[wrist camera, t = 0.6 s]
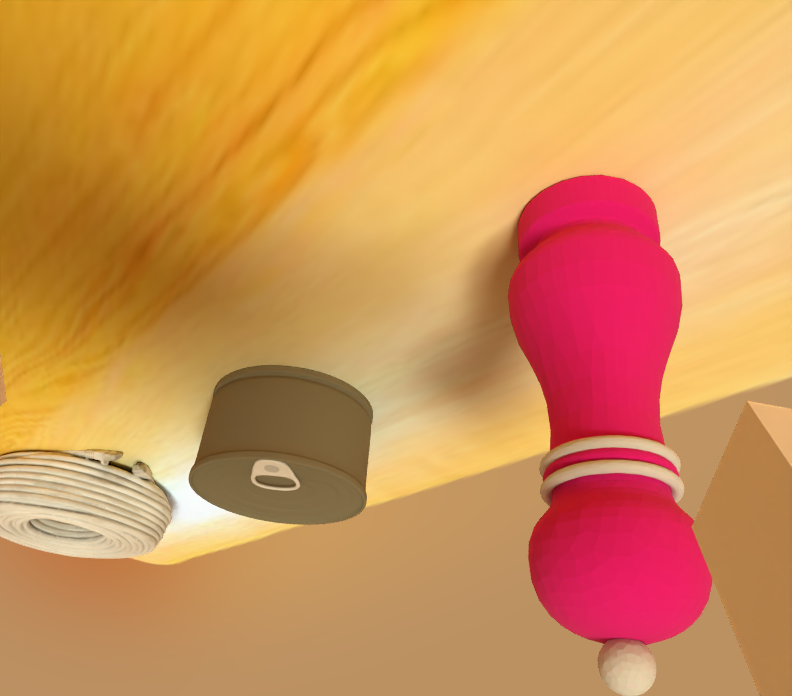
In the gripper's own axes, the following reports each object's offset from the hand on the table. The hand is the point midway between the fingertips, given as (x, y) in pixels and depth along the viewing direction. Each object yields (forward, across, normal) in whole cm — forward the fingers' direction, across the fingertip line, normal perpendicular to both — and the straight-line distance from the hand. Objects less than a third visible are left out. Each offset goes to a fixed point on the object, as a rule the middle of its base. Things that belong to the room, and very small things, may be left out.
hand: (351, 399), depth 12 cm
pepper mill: (+22, +8, -2) cm, 24 cm away
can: (+32, -7, -21) cm, 39 cm away
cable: (+41, -29, -40) cm, 64 cm away
